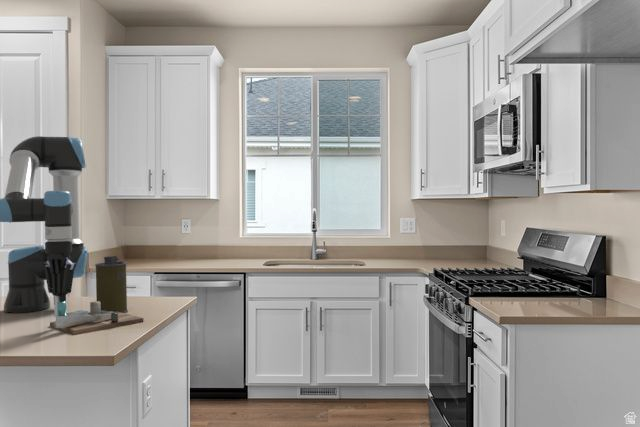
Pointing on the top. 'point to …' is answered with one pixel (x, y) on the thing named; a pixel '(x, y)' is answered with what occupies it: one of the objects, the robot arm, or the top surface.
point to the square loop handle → (77, 316)
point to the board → (95, 310)
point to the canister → (111, 285)
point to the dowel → (114, 317)
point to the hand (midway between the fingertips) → (60, 316)
